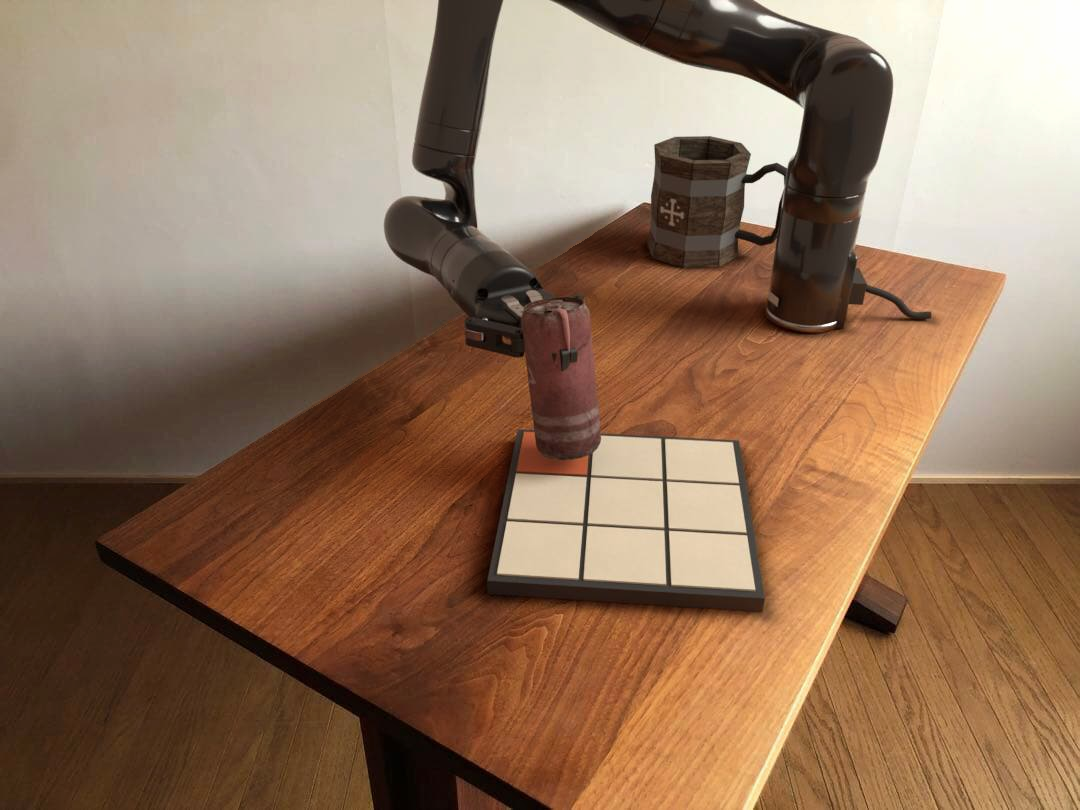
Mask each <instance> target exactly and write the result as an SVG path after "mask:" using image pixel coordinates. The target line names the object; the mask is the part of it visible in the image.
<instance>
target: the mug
mask: <svg viewBox="0 0 1080 810" xmlns="http://www.w3.org/2000/svg"><path fill="white" fill-rule="evenodd" d="M653 147H654V148H653V149H654V150H653V151H654V172H653V173H654V174H653V181H652V188H651V194H650V227H649V234H648V238H647V244H646V245H647V248H648V250H649V252H650V254H651V257H652V259H655V260H657V261H659V262H660V261H661V262H663V263H665V264H666V263H667V264H670V265H673V266H676V267H678V268H682V269H691V268H692V269H694V268H695V269H696V268H697V269H698V268H720V267H722V266H723V265H725V264H726V263H729V262H731V261H732V260H734V259H736V258H737V257H738V256H739V240H742V241H745V242H748V243H752V244H755V245H757V246H760V247H763V246H767V245H771V244H774V243H775V242H776V241H777V234H778V227H779V221H780V214H781V207H782V200H783V193H784V189H783V191H782V193H781V196H780V199H779V202H778V208H777V212H776V220H775V225H774V229H773V230H772V232H771V234H770V235H766V236H761V235H758V234H757V233H754V232H752V231H749V230H745V229H741V228H740V226H741V223H742V222H741V221H742V218H743V213H744V209H745V194H746V193H745V190H746V184H755V183H756V182H758V181H760V180H761V179H762V178H763V177H765V175H767V174H771V173H773V172H775V173H778V174H780V175H781V176H783V187H784V186H785V179H786V173H787V167H786V166H784V165H782V164H780V163H778V162H774V163H769V164H765V165H763V166H762V167H761V168H759V169H758V170H757V171H755V172H754V173H752V174H751V173H750V174H749V173H748V168H749V165H750V161H751V156H752V153H751V152H750V151H749V150H748V148H746V146H745V145H744V144H743V143H742V142H740V141H734V140H730V139H726V138H721V137H716V136H713V135H712V136H711V135H708V136H707V135H702V136H701V135H699V136H698V135H697V136H694V135H693V136H673V137H671V138H668V139H665V140H663V141H659V142H657V143H655V144H654V145H653ZM747 173H748V174H747Z"/></svg>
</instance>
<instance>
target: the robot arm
mask: <svg viewBox="0 0 1080 810" xmlns="http://www.w3.org/2000/svg"><path fill="white" fill-rule="evenodd" d="M549 1H550V2H553V3H555V4H557V5H559V6H561V7H563V8H564V9H567V10H568V11H570V12H572V13H574V14H575V15H577V16H579V17H580V18H581V19H584V20H586V21H587V22H589V23H591V24H592V25H594V26H596V27H597V28H600V29H602V30H604V31H606V32H607V33H610V34H611V35H613V36H615V37H618V38H619V39H621V40H623V41H625V42H628V43H629V44H631V45H634V46H636V47H639V48H640V49H643V50H646V51H648V52H651V53H652V54H655V55H657V56H660V57H662V58H665V59H668V60H670V61H673V62H675V63H679V64H682V65H686V66H691V67H694V68H699V69H705V70H709V71H716V72H722V73H727V74H728V73H729V74H733V75H737V76H739V77H740V76H741V77H743V78H746V79H749V80H751V81H754V82H757V84H760V85H763V86H764V87H766V88H768V89H771V90H772V91H774V92H776V93H778V94H780V95H782V96H784V97H785V98H787V99H789V100H790V101H792V102H793V103H795V104H797V105H798V106H799V107H800V108H801V109H803V115H802V121H801V125H800V126H801V127H800V133H799V138H798V143H797V148H796V151H795V154H794V155H792V156H791V157H790V159H788V162H787V167H786V168H787V173H786V179H785V186H784V185H783V187H784V188H783V190H784V193H783V192H782V193H783V200H782V207H781V214H780V221H779V227H778V234H777V239H776V240H775V249H774V254H773V262H772V269H771V275H770V280H769V281H770V282H769V289H768V293H767V300H766V301H767V302H766V305H765V312H764V313H765V316H766V318H767V319H768V320H769V321H770V322H771V323H773V324H774V325H776V326H778V327H780V328H783V329H785V330H788V331H793V332H800V333H808V334H809V333H811V334H815V333H816V334H817V333H825V332H829V331H833V330H835V329H845V326H846V319H847V315H848V309H849V305H856V306H863V305H864V300H865V295H866V293H867V294H870V295H874V296H877V297H880V298H882V299H885V300H887V301H889V302H891V303H893V304H894V305H895V306H896V307H897V309H898V310H899V311H900V313H902V314H903V315H904V316H905V317H908V318H909V319H911V320H930V319H932V311H913V310H911V309H910V308H909V307H908V306H907V305H906V304H905V302H904V301H903V300H902V299H901V298H900V297H898V296H897V295H895V294H893V293H891V292H889V291H887V290H884V289H882V288H878V287H876V286H873V285H870V284H868V283H867V281H866V279H865V277H864V275H863V273H862V271H861V268H860V267H857V265H858V258H859V257H858V255H857V252H856V251H855V249H856V243H857V240H858V239H857V238H858V233H859V228H860V223H861V218H862V212H863V207H864V202H865V198H866V193H867V187H868V182H869V178H870V176H871V174H872V173H873V171H874V170H875V168H876V166H877V164H878V161H879V157H880V154H881V150H882V146H883V141H884V138H885V133H886V129H887V124H888V121H889V116H890V113H891V108H892V102H893V101H892V100H893V95H894V76H893V71H892V68H891V66H890V64H889V62H888V60H887V59H886V58H885V57H884V56H883V55H882V54H881V53H880V52H879V51H877V50H876V49H874V47H872V46H870V45H869V44H868V43H866V42H865V41H863V40H861V39H859V38H858V37H855V36H852V35H848V34H845V33H840V32H836V31H833V30H831V29H830V30H829V29H826V28H822V27H819V26H815V25H813V24H809V23H805V22H804V21H803V22H802V21H799V20H796V19H793V18H790V17H787V16H785V15H783V14H780V13H778V12H775V11H774V10H772V9H770V8H767V7H766V6H764V5H763V4H761V3H759V2H758V1H756V0H549ZM503 3H504V0H437V11H436V19H435V27H434V33H433V38H432V44H431V50H430V53H429V54H430V55H429V61H428V64H427V70H426V75H425V80H424V84H423V89H422V92H421V93H422V94H421V99H420V103H419V110H418V117H417V122H416V126H415V127H416V128H415V133H414V134H415V135H414V142H413V146H412V153H411V154H412V155H411V164H412V166H413V168H414V170H415V171H416V172H418V173H419V174H421V175H423V176H425V177H427V178H430V179H433V180H435V181H438V182H441V183H442V185H443V187H444V192H445V195H444V199H443V198H436V197H435V198H434V197H426V196H418V195H406V196H402V197H400V198H398V199H396V200H395V201H393V202H392V203H391V204H390V205H389V207H388V208H387V210H386V213H385V215H384V219H383V232H384V238H385V241H386V243H387V245H388V247H389V249H390V250H391V251H392V253H393V254H394V255H395V256H396V257H397V258H398V259H399V260H401V261H402V262H404V263H405V264H406V265H409V266H411V267H413V268H414V269H416V270H418V271H420V272H422V273H424V274H427V275H430V276H432V277H433V278H435V279H436V280H437V281H438V283H440V284H441V286H443V288H444V289H445V290H446V291H447V293H448V295H449V297H450V298H451V299H452V300H453V302H454V303H455V304H456V305H457V306H458V307H459V308H460V310H462V311H463V312H464V314H466V315H467V316H468V317H466V318H464V335H465V336H464V337H465V345H466V346H468V347H472V348H476V349H480V350H484V351H488V352H491V353H497V354H500V355H504V356H508V357H512V358H517V359H518V358H523V357H525V346H524V338H523V331H522V324H521V316H522V314H523V311H524V307H525V305H527V304H529V303H531V302H534V301H537V300H542V299H547V298H554V297H558V296H557V295H556V294H555V293H554V292H551V291H548V290H545V289H544V288H543V287H542V285H541V283H540V281H539V279H538V278H537V275H535V274H534V273H533V272H532V271H531V269H529V268H528V267H527V266H526V265H524V263H522V262H521V261H520V260H519V259H517V258H516V257H515V256H514V255H512V253H510V252H509V251H508V250H506V248H504V247H503V246H501V245H500V244H498V243H496V242H494V241H492V240H491V239H490V238H489V237H488V236H487V235H485V234H484V233H483V232H482V231H480V230H479V229H478V215H477V205H476V204H477V203H476V188H475V185H476V183H475V182H476V181H475V165H476V158H477V154H478V150H479V143H480V138H481V133H482V127H483V121H484V116H485V109H486V101H487V95H488V85H489V76H490V68H491V60H492V55H493V48H494V41H495V36H496V32H497V27H498V23H499V18H500V15H501V11H502V7H503ZM571 297H575V298H580V299H583V301H584V302H585V296H584V295H583V294H580V293H575V294H572V295H571ZM551 312H552V311H546V312H544V313H551ZM503 338H504V339H505V340H507V341H510V344H509V343H505V342H504V340H503ZM569 354H570V363H574V362H577V355H578V353H577V349H576V348H572V349H570V353H569V351H568V349H560V360H561V370H562V371H564V370H566V369H567V368H568V367H569ZM556 356H557V354H553V353H552V357H553V361H554V362H555V359H556Z"/></svg>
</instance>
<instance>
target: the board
mask: <svg viewBox="0 0 1080 810" xmlns="http://www.w3.org/2000/svg"><path fill="white" fill-rule="evenodd" d="M744 468H745V467H744V462H743V455H742V450H741V443H740V440H738V439H719V438H701V437H700V438H697V437H695V438H694V437H679V436H678V437H677V436H659V435H642V434H641V435H640V434H638V435H637V434H619V433H618V434H617V433H601V442H600V444H599V446H598V448H597V449H596V450H595V451H594V452H593V453H591V454H590V455H588V456H585V457H582V458H578V459H572V460H556V459H550V458H547V457H545V456H544V455H542V454H541V453H540V452H539V450H538V449H537V446H536V440H535V432H534V429H523V428H522V429H521V428H519V429H517V431H516V436H515V441H514V446H513V451H512V456H511V462H510V467H509V472H508V476H507V481H506V487H505V491H504V495H503V501H502V505H501V511H500V516H499V520H498V526H497V531H496V535H495V540H494V546H493V550H492V554H491V561H490V565H489V570H488V573H487V574H488V575H487V580H486V584H487V586H486V588H487V595H494V596H495V595H496V596H509V597H511V596H512V597H528V598H539V599H540V598H541V599H557V600H574V601H589V602H601V603H602V602H603V603H605V602H606V603H620V604H632V605H633V604H634V605H649V606H650V605H651V606H666V607H679V608H681V607H682V608H695V609H696V608H697V609H711V610H725V611H726V610H727V611H740V612H741V611H742V612H758V613H763V612H764V606H765V600H766V597H765V596H766V595H765V589H764V584H763V578H762V573H761V566H760V559H759V554H758V548H757V541H756V535H755V530H754V529H755V528H754V523H753V517H752V510H751V505H750V499H749V494H748V493H749V491H748V487H747V481H746V474H745V469H744Z"/></svg>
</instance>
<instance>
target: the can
mask: <svg viewBox="0 0 1080 810" xmlns="http://www.w3.org/2000/svg"><path fill="white" fill-rule="evenodd" d="M546 311H552V312H551V313H544V312H546ZM521 324H522V331H523V338H524V346H525V352H524V358H525V364H526V373H527V374H526V375H527V382H528V389H529V397H530V398H529V399H530V405H531V415H532V422H533V430H534V432H535V440H536V446H537V449H538V450H539V452H540V453H541V454H542V455H544V456H545V457H547V458H550V459H556V460H572V459H578V458H582V457H585V456H588V455H590V454H591V453H593V452H594V451H595V450H596V449H597V448H598V446H599V444H600V442H601V421H600V412H599V411H600V410H599V401H598V391H597V389H598V388H597V377H596V368H595V358H594V345H593V336H592V324H591V313H590V310H589V308H588V307H587V304H586V302H585V300H584V301H583V299H580V298H575V297H572V296H557V297H554V298H547V299H542V300H537V301H534V302H531V303H529V304H527V305H525V307H524V311H523V314H522V316H521ZM572 348H576V349H577V353H578V355H577V362H574V363H570V354H569V367H568V368H567V369H566V370H564V371H562V370H561V360H560V349H568V351H569V353H570V349H572ZM552 353H553V354H557V356H556V359H555V362H554V361H553V357H552Z"/></svg>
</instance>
